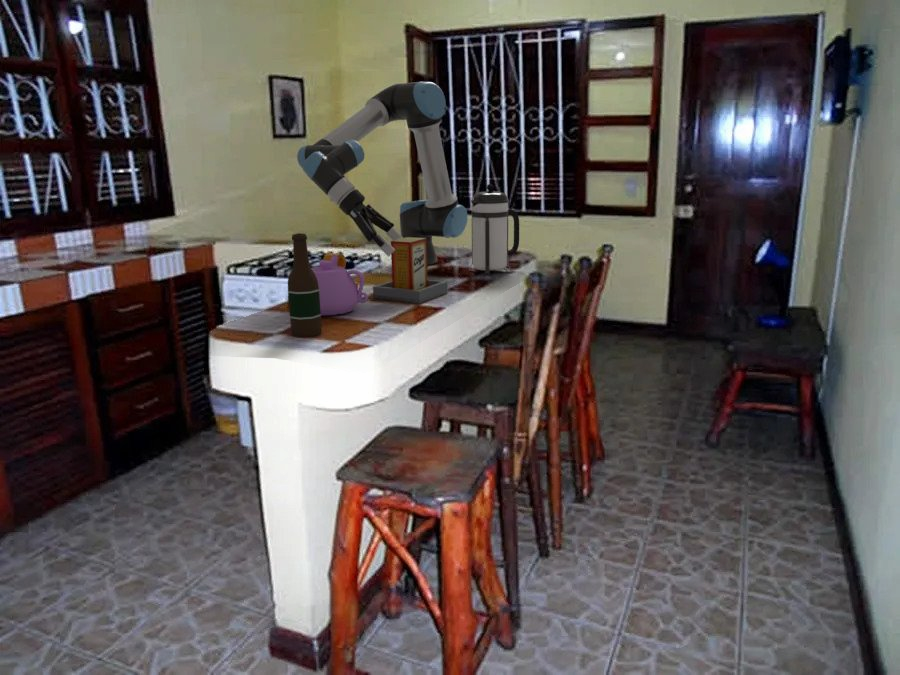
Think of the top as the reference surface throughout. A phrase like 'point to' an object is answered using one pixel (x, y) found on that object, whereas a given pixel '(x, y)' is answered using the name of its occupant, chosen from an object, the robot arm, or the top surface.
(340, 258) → the bracket
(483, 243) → the coffee press
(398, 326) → the top surface
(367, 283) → the top surface
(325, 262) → the teapot
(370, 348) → the top surface
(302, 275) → the beer bottle
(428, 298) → the tray
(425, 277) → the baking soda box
